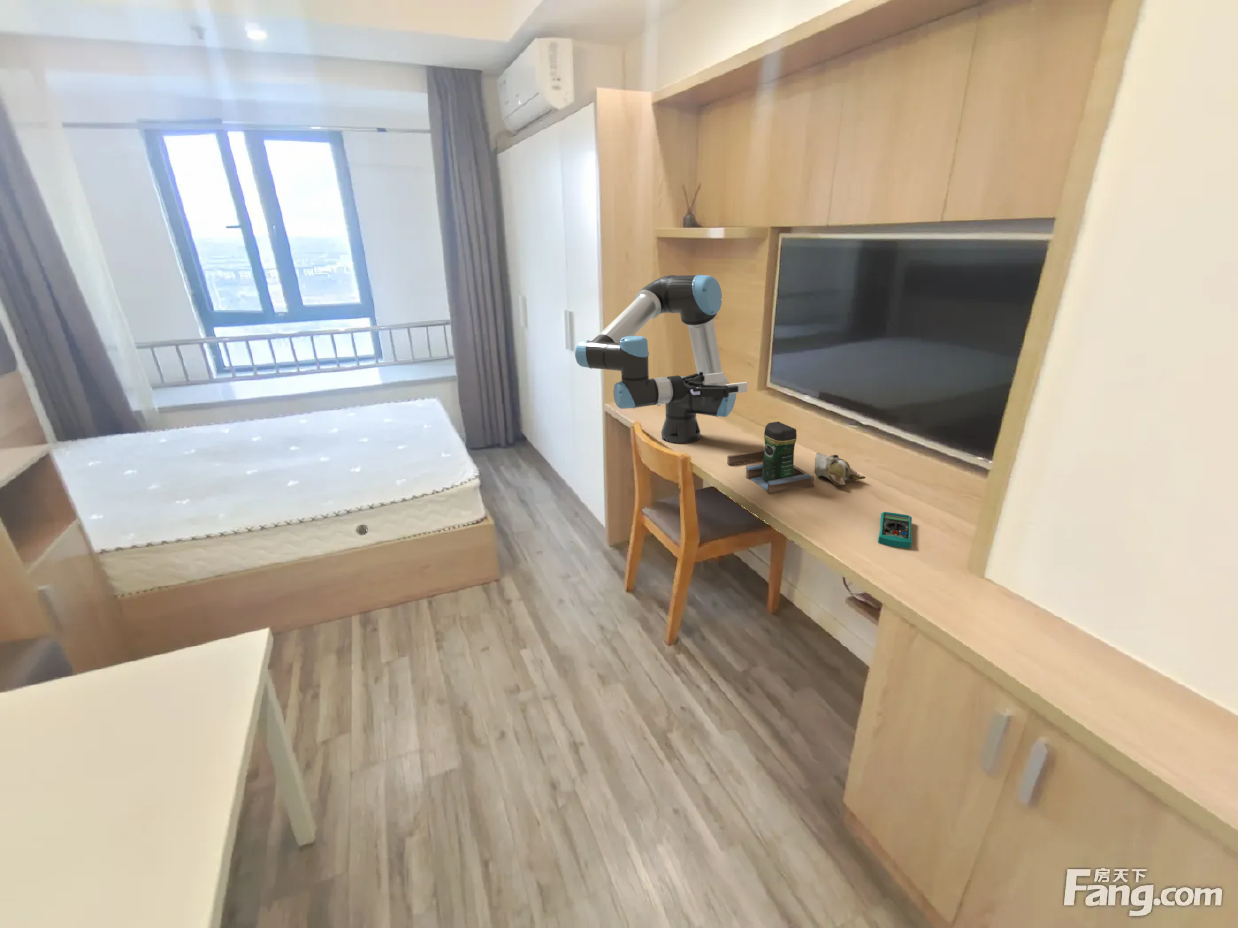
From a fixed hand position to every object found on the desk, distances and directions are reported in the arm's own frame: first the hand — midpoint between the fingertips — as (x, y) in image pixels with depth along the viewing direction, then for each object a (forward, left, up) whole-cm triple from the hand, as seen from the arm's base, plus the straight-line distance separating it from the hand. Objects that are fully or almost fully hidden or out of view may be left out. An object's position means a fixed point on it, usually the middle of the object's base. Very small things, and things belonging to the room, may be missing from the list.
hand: (734, 381), depth 163 cm
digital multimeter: (+45, +22, -33) cm, 60 cm away
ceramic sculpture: (+12, +29, -32) cm, 45 cm away
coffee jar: (+6, +13, -32) cm, 35 cm away
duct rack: (0, +13, -32) cm, 34 cm away
